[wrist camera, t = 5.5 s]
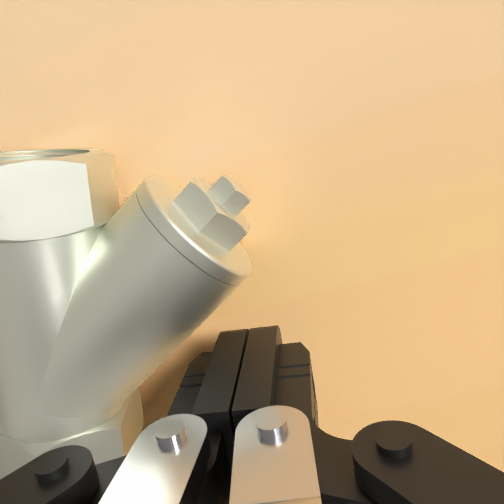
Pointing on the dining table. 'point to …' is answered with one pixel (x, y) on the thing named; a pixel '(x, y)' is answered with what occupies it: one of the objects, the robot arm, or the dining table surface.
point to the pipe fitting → (101, 293)
